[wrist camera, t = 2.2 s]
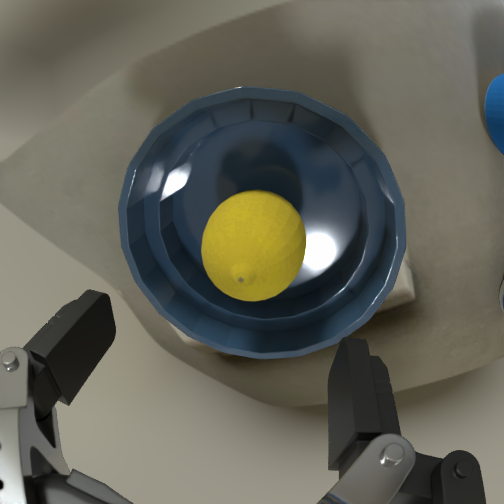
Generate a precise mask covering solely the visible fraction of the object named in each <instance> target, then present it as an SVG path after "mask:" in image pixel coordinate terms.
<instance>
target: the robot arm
mask: <svg viewBox="0 0 504 504" xmlns="http://www.w3.org/2000/svg"><path fill="white" fill-rule="evenodd" d="M115 335H116V326H115V321H114V316H113V311H112V306H111V301H110V297H109V296H108V294H106V293H102V292H98V291H94V290H87V291H85V293H83V294H82V295H81V296H80V297H79V298H78V299H77V300H74V301H72V302H70V303H68V304H66V305H64V306H63V307H62V308H61V309H60V310H59V311H58V312H57V313H56V314H55V316H53V317H52V318H51V319H50V320H49V322H48V323H46V324H45V325H44V326H43V327H42V328H41V329H40V330H39V331H38V332H37V333H36V334H35V335H34V337H33V338H32V339H31V340H30V341H29V342H28V343H27V344H26V345H25V346H24V347H23V348H20V347H9V348H6V349H4V350H2V351H1V352H0V504H133V503H132V502H130V501H129V500H127V499H126V498H124V497H123V496H121V495H120V494H119V493H117V492H116V491H114V490H113V489H111V488H110V487H109V486H107V485H106V484H104V483H102V482H100V481H98V480H95V479H93V478H91V477H89V476H87V475H85V474H83V473H81V472H79V471H77V470H75V469H72V471H71V473H70V471H69V468H68V466H67V464H66V462H65V460H64V457H63V455H62V450H61V444H60V438H59V429H58V421H57V413H56V408H55V406H54V405H55V403H56V402H57V401H60V402H62V403H64V404H66V405H68V406H69V405H70V403H71V402H72V401H73V399H74V397H75V396H76V395H77V393H78V392H79V390H80V389H81V387H82V386H83V384H84V383H85V382H86V380H87V379H88V377H89V376H90V374H91V373H92V371H93V370H94V369H95V367H96V366H97V364H98V363H99V361H100V360H101V359H102V357H103V356H104V354H105V353H106V351H107V350H108V349H109V347H110V346H111V345H112V343H113V341H114V339H115ZM328 418H329V419H328V423H329V458H328V459H329V460H328V470H335V471H336V470H338V471H339V481H338V482H337V483H336V484H335V485H334V486H333V487H332V488H331V490H330V491H329V492H328V493H327V494H326V495H325V496H324V497H323V498H322V499H321V500H320V501H319V502H318V503H317V504H486V499H485V492H484V487H483V481H482V475H481V470H480V465H479V463H478V461H477V459H476V458H475V457H474V456H473V455H472V454H471V453H469V452H467V451H463V450H456V451H453V452H451V453H449V454H448V455H447V456H446V457H445V458H444V459H442V458H437V457H432V456H428V455H424V454H420V453H418V452H416V451H415V450H414V448H413V446H412V444H411V443H410V442H409V441H408V440H407V439H405V438H404V437H402V436H401V432H400V426H399V421H398V416H397V411H396V406H395V401H394V396H393V394H392V387H391V383H390V378H389V374H388V369H387V367H386V366H385V364H384V363H383V362H382V360H381V359H380V358H379V356H370V354H369V349H368V344H367V341H366V340H365V339H357V338H348V337H343V338H342V340H341V342H340V345H339V348H338V350H337V353H336V356H335V359H334V361H333V364H332V367H331V370H330V373H329V378H328Z"/></svg>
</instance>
